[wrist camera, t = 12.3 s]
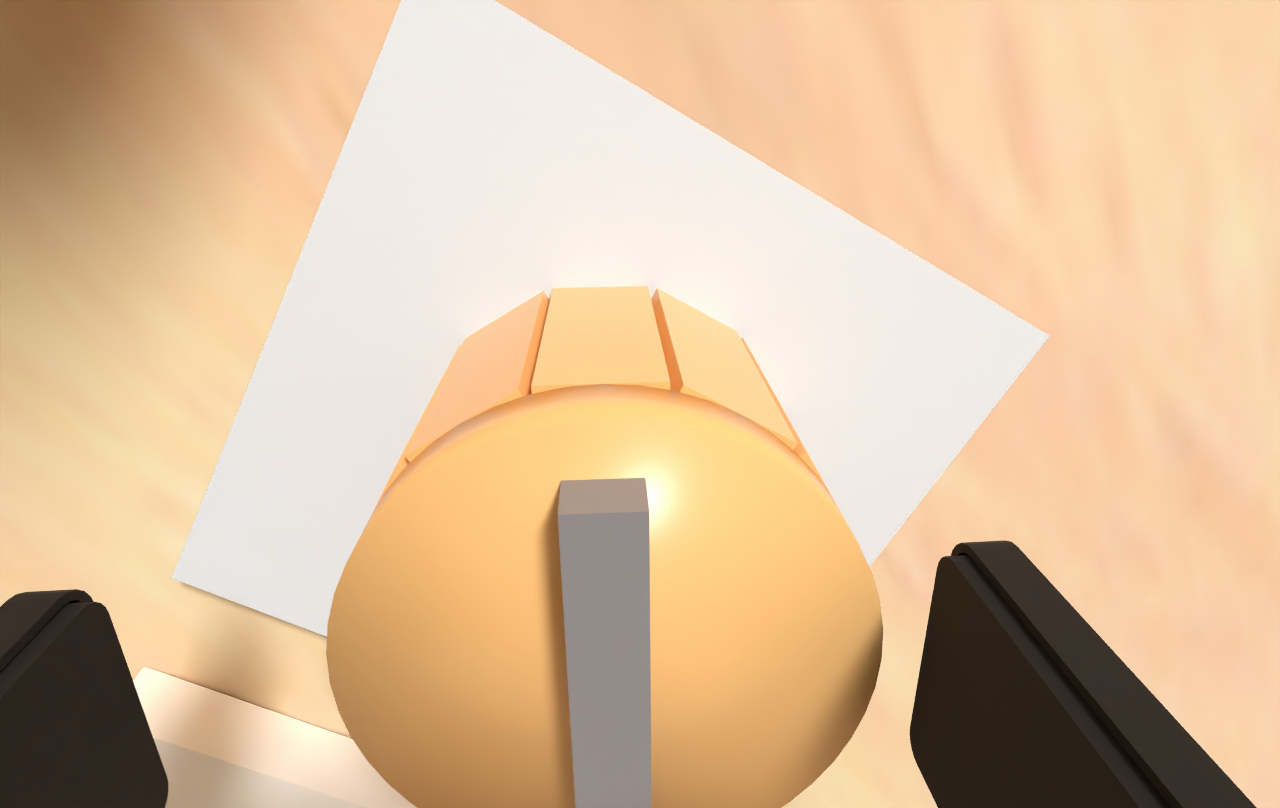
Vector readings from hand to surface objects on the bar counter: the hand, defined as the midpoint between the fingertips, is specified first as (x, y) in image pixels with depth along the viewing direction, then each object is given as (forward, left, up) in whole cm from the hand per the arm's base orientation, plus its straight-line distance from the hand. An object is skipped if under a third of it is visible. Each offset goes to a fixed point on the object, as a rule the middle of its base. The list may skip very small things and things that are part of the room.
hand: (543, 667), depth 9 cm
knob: (+1, 0, -6) cm, 6 cm away
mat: (+1, 0, -6) cm, 6 cm away
